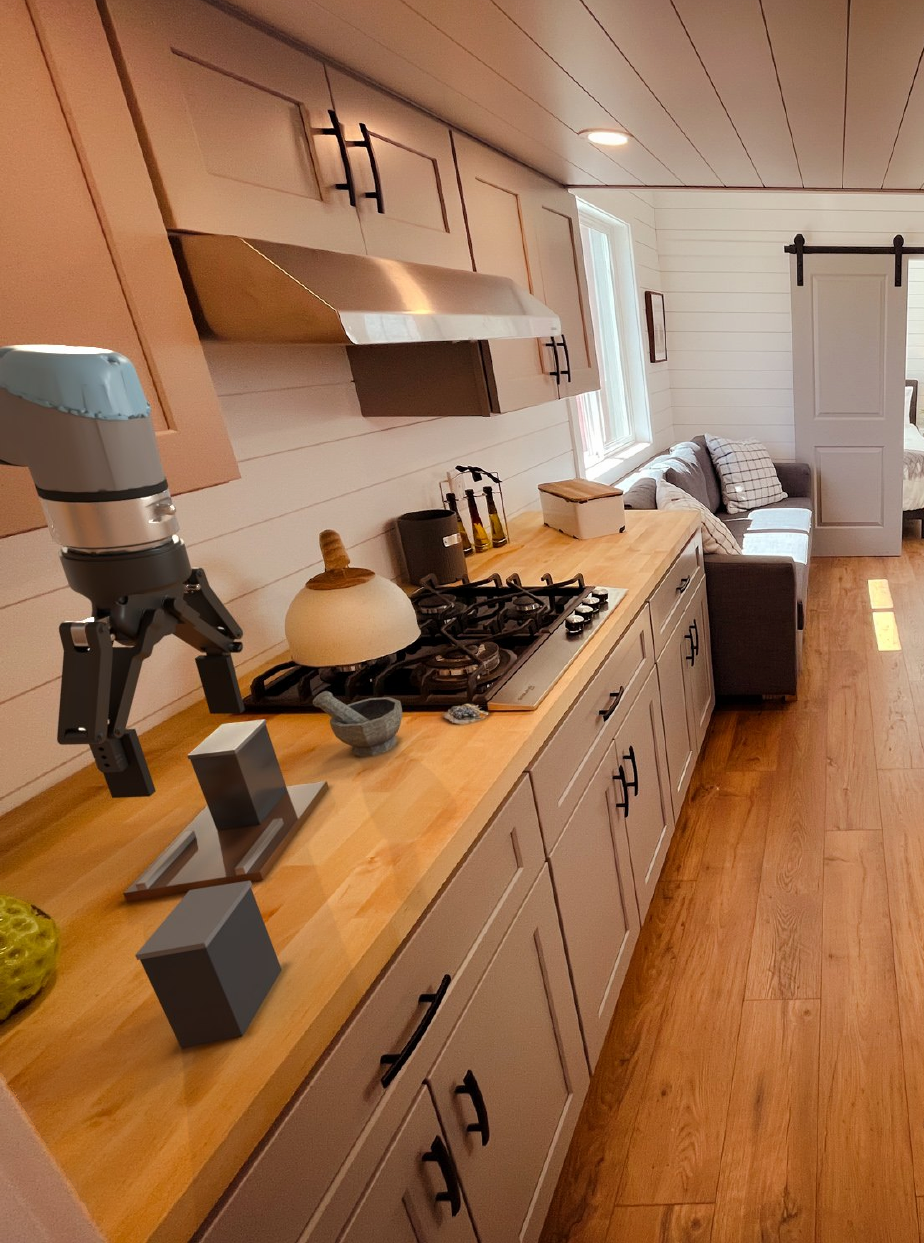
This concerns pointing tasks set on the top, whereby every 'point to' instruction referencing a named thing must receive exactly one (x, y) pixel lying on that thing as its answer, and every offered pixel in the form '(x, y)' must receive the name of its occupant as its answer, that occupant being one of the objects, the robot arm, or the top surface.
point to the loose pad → (211, 964)
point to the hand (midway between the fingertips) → (185, 749)
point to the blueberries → (464, 714)
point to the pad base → (231, 847)
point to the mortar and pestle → (363, 722)
